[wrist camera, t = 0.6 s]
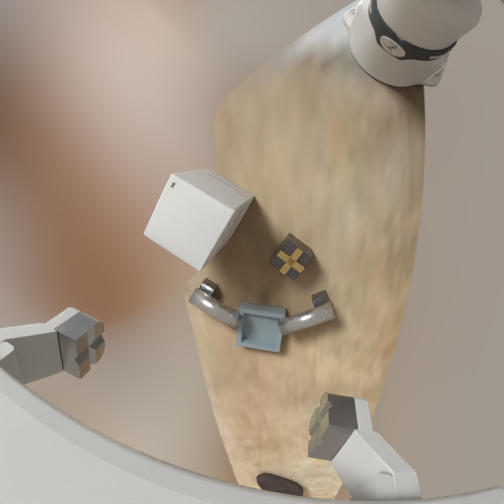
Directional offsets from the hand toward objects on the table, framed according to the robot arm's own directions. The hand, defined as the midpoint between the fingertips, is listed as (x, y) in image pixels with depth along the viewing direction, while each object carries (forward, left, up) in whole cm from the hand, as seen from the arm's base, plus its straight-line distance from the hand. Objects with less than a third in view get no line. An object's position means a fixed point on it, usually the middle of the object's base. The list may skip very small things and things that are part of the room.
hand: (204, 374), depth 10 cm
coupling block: (+5, +5, -40) cm, 41 cm away
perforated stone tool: (+59, +45, -40) cm, 85 cm away
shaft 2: (+12, +14, -40) cm, 44 cm away
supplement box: (+6, -9, -40) cm, 42 cm away
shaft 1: (+20, +1, -40) cm, 45 cm away
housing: (+19, +9, -40) cm, 45 cm away
